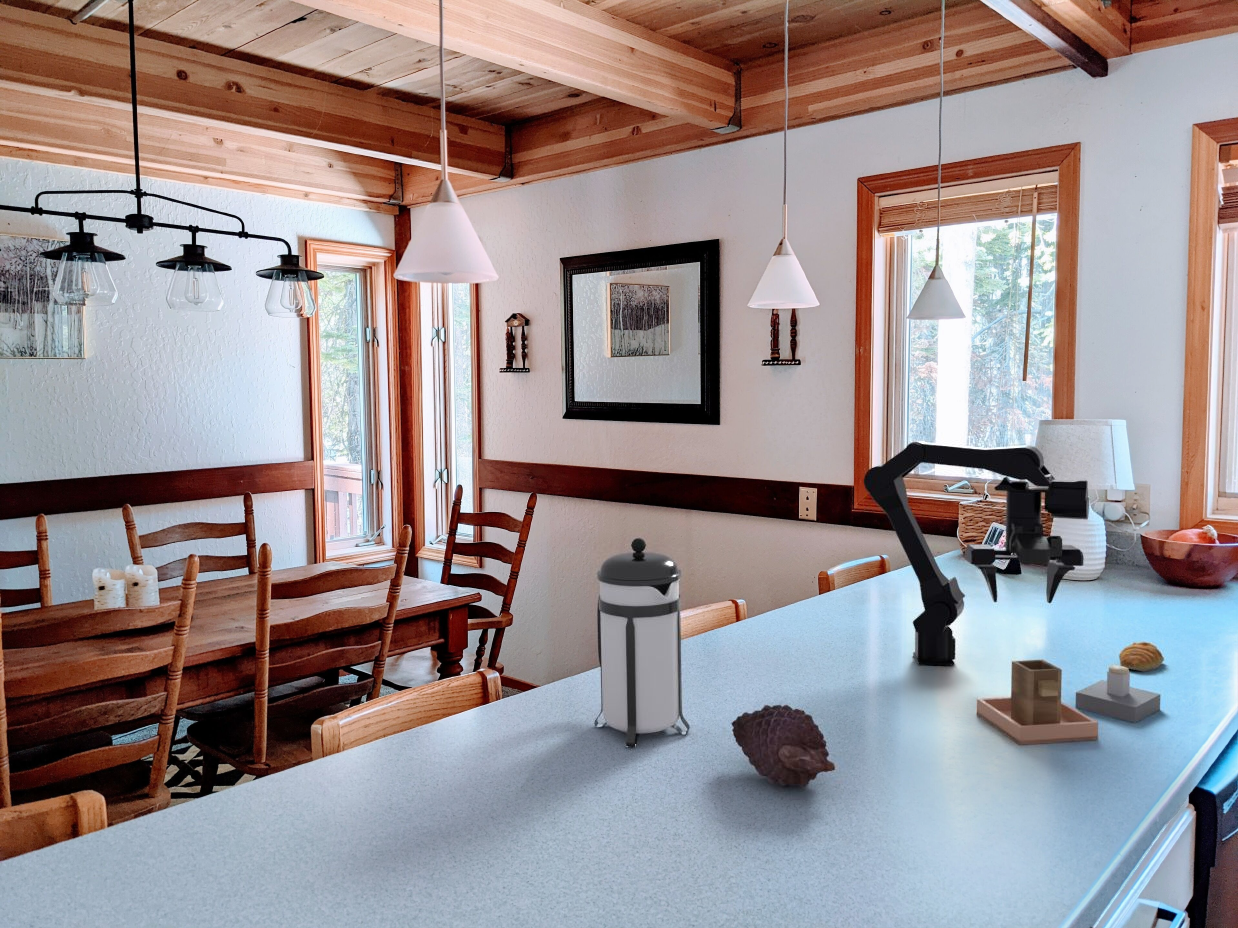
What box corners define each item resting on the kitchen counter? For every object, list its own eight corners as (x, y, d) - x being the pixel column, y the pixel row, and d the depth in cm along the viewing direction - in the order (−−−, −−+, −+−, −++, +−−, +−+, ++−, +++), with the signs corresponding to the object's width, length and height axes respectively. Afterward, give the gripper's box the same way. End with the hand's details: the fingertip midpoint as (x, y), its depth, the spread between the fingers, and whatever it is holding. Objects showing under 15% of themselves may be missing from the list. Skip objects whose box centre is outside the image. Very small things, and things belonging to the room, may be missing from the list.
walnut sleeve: (1010, 717, 138) (1011, 661, 137) (1041, 715, 138) (1042, 659, 138) (1033, 732, 132) (1034, 673, 131) (1065, 730, 132) (1066, 671, 131)
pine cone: (710, 766, 124) (710, 696, 123) (763, 749, 129) (762, 682, 128) (804, 815, 109) (804, 736, 108) (858, 793, 115) (859, 718, 114)
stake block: (1075, 706, 143) (1076, 667, 143) (1101, 694, 149) (1102, 656, 148) (1135, 722, 136) (1136, 681, 136) (1160, 709, 142) (1161, 668, 141)
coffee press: (701, 715, 143) (699, 531, 140) (675, 754, 128) (672, 548, 125) (600, 704, 149) (597, 527, 146) (564, 740, 134) (559, 544, 131)
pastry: (1153, 676, 158) (1154, 655, 158) (1111, 669, 163) (1111, 649, 162) (1165, 663, 165) (1165, 643, 165) (1124, 657, 170) (1124, 637, 169)
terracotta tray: (976, 714, 141) (976, 698, 141) (1048, 709, 142) (1049, 694, 142) (1019, 744, 129) (1019, 727, 129) (1097, 739, 130) (1098, 722, 130)
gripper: (979, 522, 152) (978, 612, 153) (1096, 523, 149) (1094, 614, 150) (964, 513, 163) (963, 597, 164) (1073, 513, 160) (1071, 599, 161)
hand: (1021, 602), depth 160 cm, fingers open, 9 cm apart
